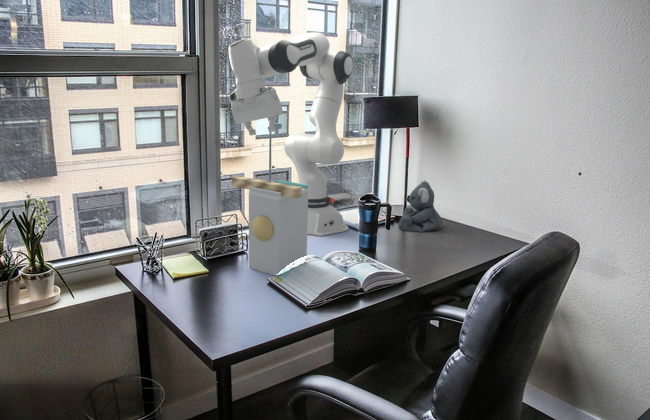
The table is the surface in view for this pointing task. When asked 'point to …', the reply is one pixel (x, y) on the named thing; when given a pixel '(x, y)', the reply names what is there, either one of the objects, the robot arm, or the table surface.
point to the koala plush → (421, 211)
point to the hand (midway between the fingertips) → (262, 133)
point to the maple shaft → (267, 186)
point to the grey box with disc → (276, 228)
